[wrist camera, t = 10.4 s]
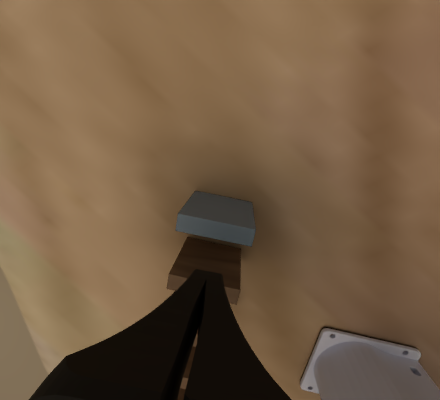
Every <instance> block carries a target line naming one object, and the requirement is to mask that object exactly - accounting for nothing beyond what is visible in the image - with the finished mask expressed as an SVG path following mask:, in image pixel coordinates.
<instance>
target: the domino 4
mask: <svg viewBox="0 0 440 400" xmlns="http://www.w3.org/2000/svg"><path fill="white" fill-rule="evenodd" d="M240 267H241V249H239V248H235V247H230V246H226V245H221V244H217V243H212V242H208V241H203V240H199V239H194V238H190V237H187V239H186V241H185V243H184V245H183V247H182V249H181V251H180V253H179V255H178V257H177V259H176V261H175V263H174V265H173V267H172V269H171V271H170V273H169V277H168V283H167V289H171V290H175V291H176V290H177V289H178V288H179V287H180V286H181V285H182V284H183V283H184V282H185V281H186V280H187V278H188V277H189V276H190V275H191V273H192V272H193V271H194V270H195V269H199V270H204V271H209V272H215V273H220V274H222V275H223V282H224V287H225V291H226V294H227V298H228V301H229V303H232V304H236V305H237V301H238V297H239V293H240Z"/></svg>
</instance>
